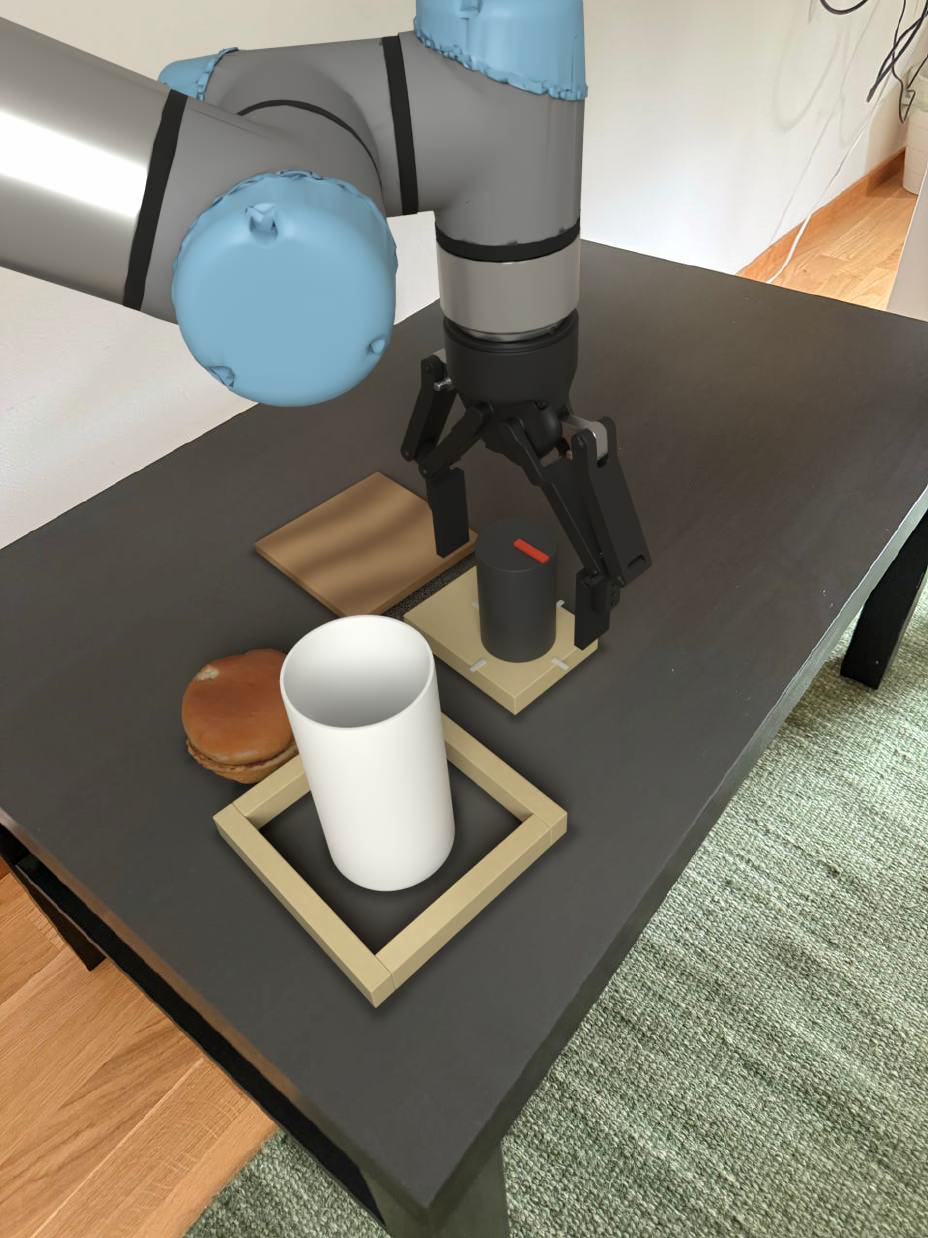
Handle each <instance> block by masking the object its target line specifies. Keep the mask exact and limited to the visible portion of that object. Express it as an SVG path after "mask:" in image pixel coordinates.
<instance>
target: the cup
mask: <svg viewBox="0 0 928 1238" xmlns="http://www.w3.org/2000/svg"><path fill="white" fill-rule="evenodd" d="M286 655H287V657H286V659H285V661H284V663H283V666H282V669H281V674H280V687H281V694H282V698H283V701H284V705H285V708H286V711H287V715H288V718H289V721H290V724H291V728H292V731H293V734H294V737H295V741H296V744H297V747H298V750H299V754H300V757H301V760H302V763H303V767H304V770H305V773H306V776H307V780H308V783H309V786H310V789H311V790H310V793H311V797H312V798H313V799H312V800H313V802H314V805H315V807H316V808H315V809H316V812H317V816H318V818H319V823H320V824H321V829H322V831H323V834H324V838H325V841H326V845H327V848H328V851H329V854H330V857H331V859H332V862H333V863H334V866H335V867H336V868H337V870H338V871H339V872H340V874H342V875H343V876H344V877H345V878H346V879H347V880H349V881H351V882H352V883H354V884H355V885H357V886H360V887H362V888H365V889H369V890H372V891H378V892H379V891H380V892H393V891H400V890H404V889H408V888H411V887H413V886H416V885H419V884H420V883H423V882H424V881H426V880H427V879H429V878H430V877H432V875H434V874H435V873H436V872H437V871H438V870H439V869H441V867H442V866H443V865H444V863H445V862H446V860H447V859H448V857H449V855H450V853H451V850H452V849H453V846H454V841H455V836H456V835H455V834H456V825H455V817H454V810H453V802H452V801H453V800H452V792H451V791H452V790H451V784H450V775H449V768H448V759H447V758H446V750H445V742H444V734H443V725H442V717H441V712H442V711H441V710H442V709H441V702H440V693H439V686H438V678H437V671H436V670H437V669H436V663H435V658H434V654H433V653H432V651H431V649H430V646H429V645H428V643H427V641H426V640H425V639H424V637H423V636H422V635H421V634H420V633H419V632H418V631H416V630H415V629H414V628H412V627H411V626H409V625H407V624H406V623H404V621H401V620H400V619H396V618H393V617H389V616H385V615H379V616H378V615H356V616H349V617H344V618H340V617H339V618H336V619H334V620H331V621H328V622H326V623H323V624H322V625H320V626H318V627H316V628H314V629H312V630H311V631H310V632H308V633H307V634H305V635H303V637H302V638H300V639H299V641H297V642H296V643H295V644H294V645H293V647H292V648H291V649H290V651H289V652H288V654H286Z"/></svg>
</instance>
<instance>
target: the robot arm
mask: <svg viewBox="0 0 928 1238" xmlns="http://www.w3.org/2000/svg"><path fill="white" fill-rule="evenodd" d="M584 11H585V10H584V0H415V16H414V18H413V19H412V25H413V29H412V30H406V31H400V32H397V35H386V36H382V37H381V36H380V37H372V38H371V37H370V38H361V39H352V40H339V41H329V42H328V41H327V42H319V43H309V44H308V43H307V44H298V45H297V44H295V45H286V46H276V47H267V48H265V47H263V48H254V49H243V48H238V47H237V46H233V47H228V48H227V47H226V48H222V49H221V50H219V52H218V53H213V54H208V55H202V56H198V57H191V58H185V59H180V60H175V61H172V62H170V63H168V64H166V66H164V67H163V69H162V70H161V71H160V72H159V74H158V77H157V80H156V79H154V78H151V77H149V76H146V75H144V74H142V73H139V72H136V71H134V70H131V69H129V68H127V67H124V66H122V65H120V64H117V63H114V62H112V61H109V60H107V59H105V58H103V57H100V56H97V55H96V54H92V53H90V52H88V51H85V50H83V49H81V48H78V47H76V46H73V45H70V44H68V43H65V42H63V41H61V40H58V39H56V38H54V37H52V36H49V35H46V34H44V33H41V32H39V31H37V30H34V29H31V28H29V27H27V26H25V25H22V24H19V23H17V22H15V21H12V20H10V19H7V18H5V17H3V16H0V268H4V269H7V270H9V271H13V272H16V273H19V274H23V275H25V276H28V277H32V278H35V279H38V280H41V281H44V282H47V283H50V284H53V285H57V286H59V287H63V288H67V289H70V290H72V291H75V292H79V293H82V294H86V295H89V296H91V297H94V298H98V299H101V300H105V301H108V302H109V303H110V302H111V303H114V304H118V305H120V306H123V307H124V308H128V309H131V310H134V311H137V312H140V313H142V314H145V315H147V316H150V317H152V318H154V319H157V320H161V321H164V322H167V323H170V324H174V325H176V326H178V328H179V332H180V334H181V337H182V340H183V341H184V343H185V345H186V347H187V349H188V351H189V353H190V354H191V356H192V357H193V358H194V360H195V362H197V364H199V365H200V366H201V367H202V368H204V370H205V371H206V372H208V374H209V375H210V376H212V378H214V379H215V380H216V381H218V382H219V383H220V384H221V385H223V386H225V387H226V388H227V389H228V391H229V392H231V393H233V394H235V395H237V396H239V397H241V398H244V399H246V400H249V401H251V402H254V403H258V404H262V405H266V406H272V407H279V408H299V407H301V408H302V407H309V406H314V405H318V404H321V403H325V402H328V401H331V400H334V399H336V398H338V397H340V396H342V395H344V394H346V393H347V392H349V391H350V390H352V389H354V388H355V387H356V386H358V385H359V384H360V383H361V382H362V381H363V380H365V379H366V378H367V376H368V375H369V374H370V373H371V372H372V371H373V370H374V369H375V367H376V366H377V365H378V362H379V361H380V360H381V358H382V357H383V355H384V353H385V352H386V349H388V347H389V346H390V343H391V339H392V338H391V337H392V334H393V331H394V326H395V319H396V309H397V308H396V307H397V278H396V277H397V271H398V268H399V260H398V255H397V247H398V246H397V243H396V241H395V238H394V236H393V233H392V231H391V228H390V226H389V223H388V218H396V217H397V218H398V217H405V216H413V215H418V213H426V212H432V213H433V216H434V232H435V233H434V234H435V247H436V248H435V250H436V262H437V277H438V290H439V305H440V309H441V310H442V313H443V314H444V316H443V319H442V329H443V339H444V347H443V348H441V349H439V350H437V351H436V352H433V353H432V354H429V355H428V356H425V357H424V358H422V359H421V360H420V389H419V392H418V394H417V398H416V401H415V404H414V407H413V410H412V412H411V416H410V418H409V422H408V425H407V428H406V431H405V434H404V437H403V440H402V443H401V446H400V453H401V454H400V455H401V457H402V458H403V459H404V461H406V462H408V463H411V462H413V461H414V462H415V463H416V464H417V465H418V467H417V468H418V472H419V474H420V476H421V477H422V478H423V479H424V482H425V490H426V496H427V497H426V498H427V500H426V501H427V502H428V505H429V507H430V509H431V510H432V517H433V526H434V535H435V544H436V553H437V555H438V556H440V557H441V558H443V559H444V558H445V557H447V556H448V555H450V554H451V553H453V552H454V551H456V550H457V549H459V548H460V547H462V546H463V545H465V544H466V543H468V542H469V541H470V539H469V529H470V527H469V513H468V503H467V502H468V501H467V490H466V488H467V487H466V477H465V470H464V469H462V468H460V467H458V466H456V467H454V468H452V469H451V467H452V466H454V464H456V463H458V462H459V461H461V460H462V457H463V456H464V455H465V454H466V453H467V452H468V451H469V450H471V448H473V446H474V445H475V444H476V443H478V441H480V440H481V441H482V442H483V443H484V447H485V449H487V450H489V451H491V452H492V453H495V454H499V455H503V456H504V457H505V458H507V459H508V460H509V461H510V462H511V463H513V464H515V465H516V466H519V467H520V468H522V470H523V472H524V474H525V476H526V478H527V480H528V481H529V483H530V484H531V485H532V486H533V487H539V488H540V489H541V491H542V492H543V494H544V496H545V498H546V500H547V502H548V503H549V505H550V507H551V509H552V511H553V512H554V514H555V516H556V519H557V520H558V523H560V526H561V528H562V529H563V531H564V533H565V534H566V535H565V536H567V538H568V540H569V543H570V544H571V546H572V548H573V549H574V551H575V553H576V555H577V557H578V559H579V560H580V562H581V564H582V566H583V568H581V569H580V570H578V571H577V572H576V573H575V596H574V598H575V600H574V615H575V626H574V646H576V647H577V648H579V649H580V650H582V651H583V650H584V649H585V648H587V647H588V646H589V645H590V644H592V643H593V642H594V641H595V640H597V639H598V640H599V639H600V638H601V637H602V636H603V635H604V634H605V633H607V632H608V631H609V630H610V622H611V621H610V620H611V611H612V610H613V609H614V608H615V607H617V606H618V605H619V603H620V601H621V589H624V588H625V587H627V586H628V585H629V584H632V582H633V581H634V580H636V579H637V578H638V577H640V576H641V575H642V574H644V573H645V572H646V571H647V570H648V569H650V568H651V567H652V564H653V561H652V557H651V554H650V551H649V548H648V545H647V542H646V539H645V536H644V532H643V530H642V526H641V524H640V520H639V517H638V514H637V511H636V508H635V505H634V501H633V499H632V496H631V492H630V489H629V487H628V484H627V481H626V477H625V474H624V471H623V468H622V465H621V462H620V459H619V456H618V443H617V440H618V439H617V425H616V423H615V421H614V420H613V419H612V417H610V416H608V415H603V416H600V417H599V418H597V419H595V421H592V420H591V421H590V420H588V419H585V418H582V417H579V416H577V415H575V412H574V410H573V406H572V404H571V400H570V390H571V387H572V384H573V381H574V378H575V375H576V373H577V370H578V365H579V336H580V335H579V333H580V332H579V331H580V315H579V312H578V309H577V306H578V303H579V301H580V272H581V271H580V270H581V269H580V266H581V265H580V264H581V233H582V232H581V229H582V228H581V213H582V212H581V211H582V209H581V205H582V183H583V181H582V180H583V158H584V157H583V156H584V153H583V151H584V131H585V112H586V111H585V108H586V107H585V106H586V98H588V96H589V95H588V93H589V85H587V80H586V78H587V77H586V75H587V74H586V47H585V46H586V45H585V13H584ZM457 395H458V397H459V399H460V401H461V403H462V405H463V408H464V409H465V412H464V413H463V415H462V416H461V418H460V419H458V421H456V423H455V424H454V425H453V426H451V428H450V432H449V433H448V434H447V435H446V436H445V437H444V438H443V439H442V440H441V441H440V438H441V436H442V434H443V431H444V428H445V425H446V423H447V420H448V418H449V416H450V414H451V410H452V408H453V405H454V403H455V400H456V398H457ZM439 441H440V442H439ZM555 448H556V450H557V452H558V457H557V458H556V459H554V460H553V461H551V462H550V463H548V464H546V465H545V466H544V465H543V464H542V462H541V460H542V459H544V458H545V457H546V456H548V455H550V453H551V452H552V451H553V450H554V449H555Z"/></svg>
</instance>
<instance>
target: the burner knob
mask: <svg viewBox="0 0 928 1238" xmlns="http://www.w3.org/2000/svg"><path fill="white" fill-rule="evenodd" d="M477 534H478V536H477V538H476V541H475V551H474V555H475V566H476V572H477V587H478V602H479V617H480V633H481V641H482V644H483V646H484V648H485V649H486V650H487V651H488V652H489V653H490V654H491V655H492V656H494V657H496V658H498V659H500V660H503V661H506V662H512V663H524V662H529V661H533V660H536V659H538V658H540V657H542V656H543V655H545V654H546V653H547V652H548V651H549V650H550V649H551V648H552V646H553V645H554V642H555V639H556V603H557V602H558V601H557V599H558V597H557V595H558V594H557V593H558V546H559V545H558V539H557V535H556V534H555V532H554V531H553V530H552V529H551V528H550V527H549V526H547V525H546V524H545V523H543V522H541V521H538V520H536V519H532V518H527V517H508V518H507V517H506V518H502V519H499V520H496V521H493V522H492V523H489V524H487V525H486V526H485V527H483V528H482V530H480V532H479V533H477Z"/></svg>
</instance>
